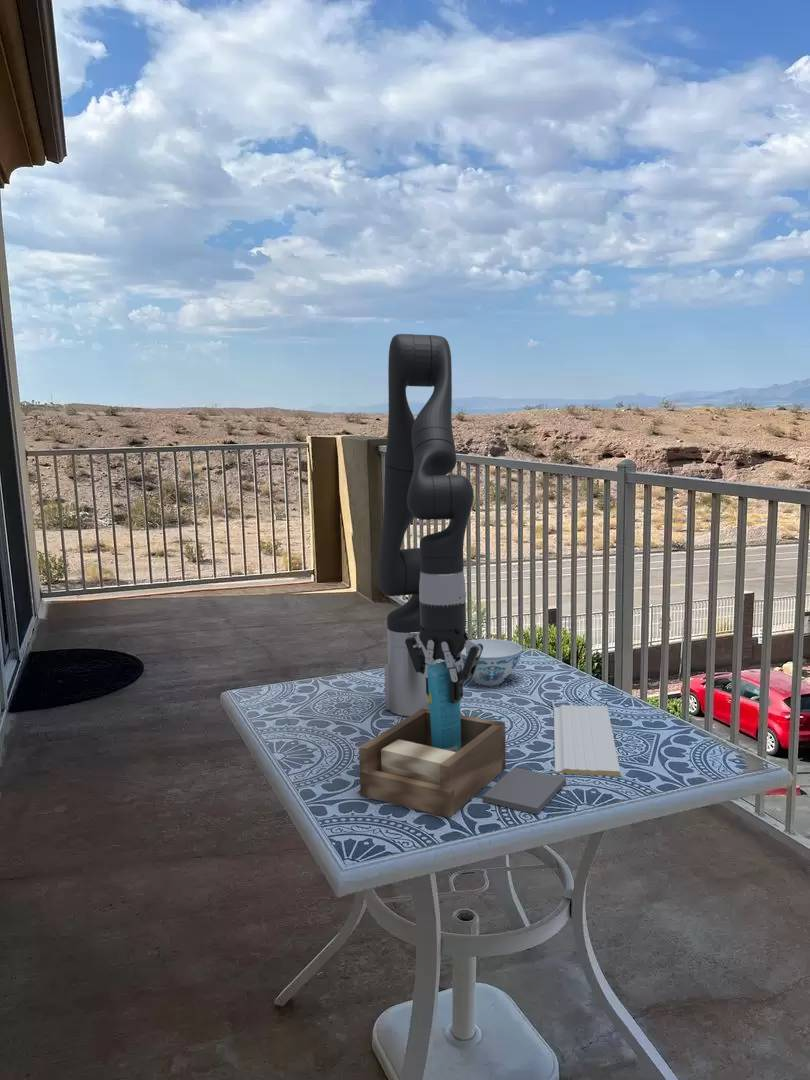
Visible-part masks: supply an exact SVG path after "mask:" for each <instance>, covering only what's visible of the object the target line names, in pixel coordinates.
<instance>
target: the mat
mask: <svg viewBox="0 0 810 1080" xmlns="http://www.w3.org/2000/svg"><path fill="white" fill-rule="evenodd" d="M566 781H567V778H566V777H565V776H564V777H563V776H559V775H553V774H548V773H545V772H539V771H534V770H530V769H524V768H520V767H516V766H515V767H512V769H510V771H508V772H507V773H506V774H504V776H503V777H501V778H500V779H499V780H498V781H497V782H496V783H495V784H493V785H492V787H490V788H489V789H488V790H487V791H486V792H485V793H484V794H483V795H482V803H485V802H487V803H486V804H489V803H491V805H494V804H495V806H498V805H500V806H499V807H502V806H503V808H506V807H507V809H512V810H516V811H521V812H525V813H528V814H533V815H535V816H537V815H539V813H541V811H543V809H545V807H546V806H547V805H548V804H549V803H550V801H551V800H552V799H554V797H555V796H556V795H558V793H559V792H560V791H561V790H562V788H563V787H564V786H566V785H567V782H566ZM560 789H561V790H560ZM559 790H560V791H559ZM558 791H559V792H558ZM557 792H558V793H557Z"/></svg>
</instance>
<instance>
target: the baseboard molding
mask: <svg viewBox="0 0 810 1080" xmlns="http://www.w3.org/2000/svg"><path fill="white" fill-rule="evenodd" d="M573 701H578V702H582V701H586V700H585V698H584V699H583V698H579V699H578V698H576V699H575V698H574V699H573ZM553 702H554V703H556V702H557V700H556V699H554V700H553ZM559 702H561V703H562V702H563V703H564V702H566V703H567V702H568V703H570V701H566V700H564V701H563V700H559ZM587 703H589V704H590V703H592V704H593V703H595V704H597V702H596V701H595V702H593V701H588V702H587ZM607 704H608V702H607V701H606V702H605V705H607ZM553 705H554V704H553V703H550V704H548V707H550V708H551V709H553V731H554V734H553V739H554V741H553V742H554V747H555V748H554V747H553V748H554V774H558V773H568V774H567V775H581V776H582V775H583V776H588V775H589V776H605V777H606V776H609V777H620V776H621V768H620V764H619V759H618V753H617V749H616V744H615V739H614V733H613V728H612V724H611V723H612V722H611V719H610V712H609V708H608V706H604V705H603V706H597V705H588V706H587V705H584V706H583V705H573V704H572V705H566V704H561V705H560V706H558V707H557V706H555V707H553Z"/></svg>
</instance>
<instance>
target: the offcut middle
mask: <svg viewBox="0 0 810 1080" xmlns="http://www.w3.org/2000/svg"><path fill="white" fill-rule="evenodd" d="M381 772H384V773H388V774H393V775H397V776H402V777H406V778H410V779H415V780H419V781H423V782H428V783H432V784H436V785H440V779H438V778H434V777H430V776H426V775H422V774H418V773H414V772H409V771H405V770H401V769H397V768H393V767H389V766H385V765H381Z"/></svg>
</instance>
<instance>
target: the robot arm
mask: <svg viewBox="0 0 810 1080" xmlns="http://www.w3.org/2000/svg"><path fill="white" fill-rule="evenodd" d="M451 353H452V352H451V348H450V344H449V341H448V339H446V338H445V337H444V336H441V335H435V334H412V333H398V334H395V335H393V336H392V338H391V340H390V344H389V349H388V364H387V365H388V368H387V369H388V370H387V371H388V374H387V376H388V377H387V378H388V420H387V422H388V423H387V436H386V437H387V438H386V450H385V460H384V461H385V462H384V480H383V481H384V482H383V483H384V484H383V485H384V489H383V491H384V494H383V515H382V518H383V519H382V526H381V527H382V528H381V535H380V544H379V549H378V551H379V552H378V558H377V559H378V560H377V581H378V582H377V583H378V587H379V590H380V592H381V593H382V595H384V596H387V597H399V596H410V595H411V596H410V598H409V600H408V601H407V602H405V603H404V604H403V605H401V606H400V607H398V608H395V609H394V610H392V611H390V612H389V613H388V615H387V617H386V628H387V631H386V633H387V655H388V656H387V658H388V662H387V663H385V664H384V694H385V695H384V698H385V701H384V702H385V710H387V711H389V712H391V713H393V714H395V715H399V716H401V717H402V716H405V717H409V716H411V715H412V714H414V713H416V712H417V711H419V710H420V709H422V708H423V709H429V710H430V706H429V690H428V673H427V667H428V666H431V665H434V664H437V663H440V662H442V661H441V660H443V661H446V665H447V668H448V669H449V671H450V676H451V680H452V681H451V682H450V696H451V703H454V704H456V703H457V702H459V701H460V702H461V699H463V696H464V681H466V680H467V679H469V678H472V677H471V676H473V675H474V672H475V670H476V667H477V664H478V661H479V659H480V656H481V653H482V650H483V645H482V644H480V643H479V644H475V643H473V642H471V640H470V639H469V637H468V635H467V632H466V626H467V603H466V602H467V601H466V600H467V599H466V598H467V592H466V591H467V590H466V579H465V572H464V571H465V570H464V567H465V566H464V543H465V535H466V530H467V526H468V525H467V524H468V521H469V519H470V515H471V511H472V506H473V502H474V487H473V484H472V483H471V481H470V480H469V478H468V477H466V476H465V475H463V474H462V475H461V474H450V473H451V472H453V470H454V469H455V467H456V466H457V453H456V447H455V439H454V432H453V424H452V422H453V421H452V406H453V402H452V401H453V399H452V398H453V391H452V389H453V386H452V385H453V384H452V381H453V380H452V378H453V376H452V373H453V372H452V371H453V370H452V354H451ZM407 387H421V388H422V387H425V388H426V387H427V388H431V387H433V391H432V394H431V396H430V397H429V399H428V400H427V401H426V403H425V404H424V406H423V407H422V408H421V410H420V411H419V412H418V414H417V416H416V417H414V415H413V412H412V411H411V408H410V405H409V402H408V397H407ZM414 518H416V519H417V520H423V521H431V520H450V522H449V524H448V525H447V527H445V529H443V530H440V531H437V532H434V533H430V534H427V535H424V536H422V538H421V539H420V541H419V547H416V548H405V549H404V548H403V549H402V546H403V541H404V538H405V535H406V532H407V530H408V528H409V526H410V525H411V523H412V521H414V520H413V519H414ZM464 647H465V648H466V655H468V656H467V659H466V662H465V665H464V667H463V666H462V664H463V659H462V654H461V652H462V650H463V649H464ZM453 659H454V660H453Z"/></svg>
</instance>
